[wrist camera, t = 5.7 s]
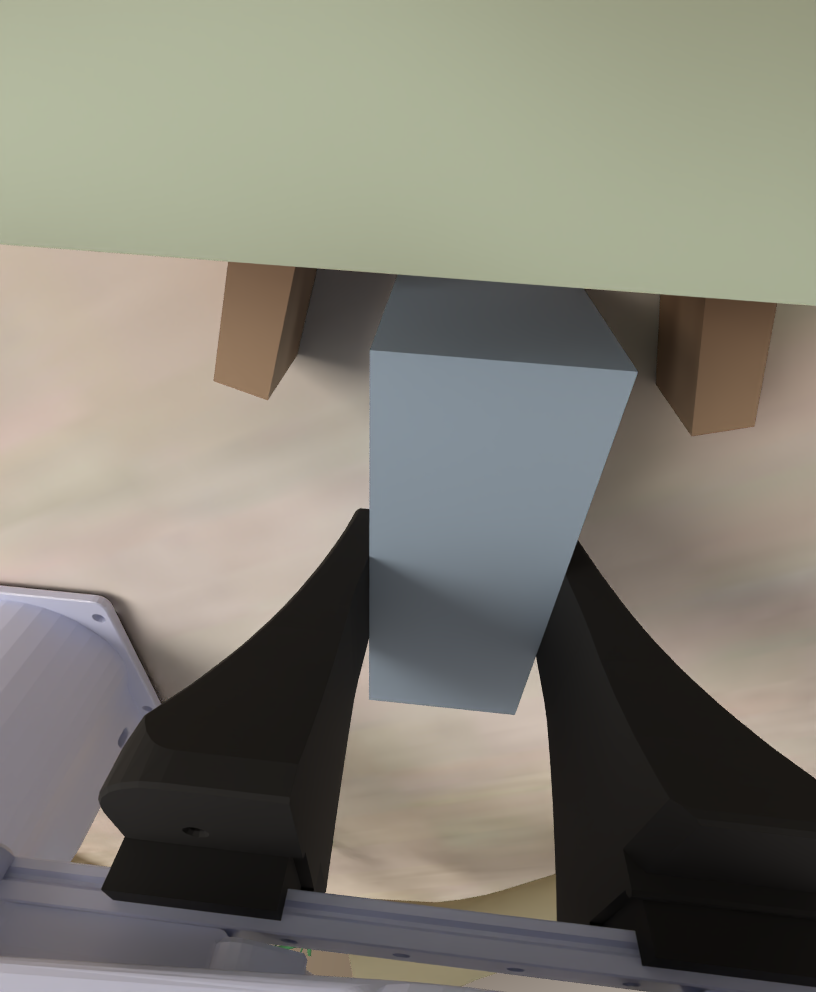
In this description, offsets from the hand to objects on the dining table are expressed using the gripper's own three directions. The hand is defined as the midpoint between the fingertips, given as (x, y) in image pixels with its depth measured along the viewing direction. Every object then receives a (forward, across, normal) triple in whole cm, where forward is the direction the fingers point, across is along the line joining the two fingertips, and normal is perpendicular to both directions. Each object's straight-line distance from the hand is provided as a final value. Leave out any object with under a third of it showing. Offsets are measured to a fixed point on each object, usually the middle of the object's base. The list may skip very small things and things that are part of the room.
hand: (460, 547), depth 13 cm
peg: (+3, 0, -1) cm, 3 cm away
